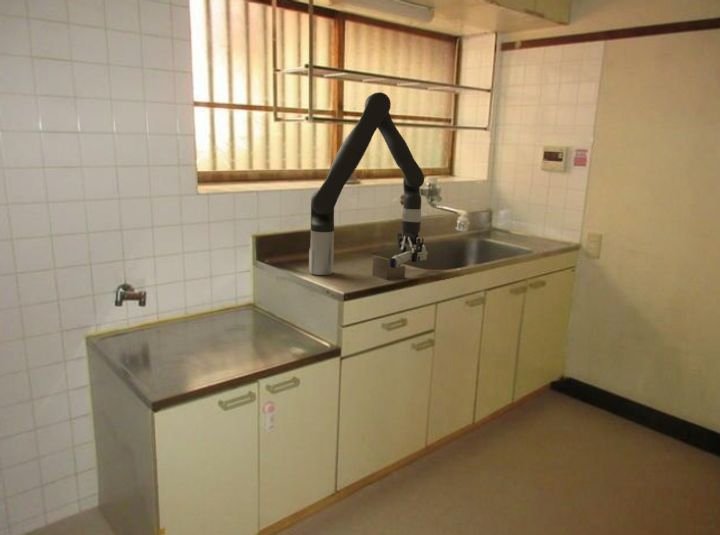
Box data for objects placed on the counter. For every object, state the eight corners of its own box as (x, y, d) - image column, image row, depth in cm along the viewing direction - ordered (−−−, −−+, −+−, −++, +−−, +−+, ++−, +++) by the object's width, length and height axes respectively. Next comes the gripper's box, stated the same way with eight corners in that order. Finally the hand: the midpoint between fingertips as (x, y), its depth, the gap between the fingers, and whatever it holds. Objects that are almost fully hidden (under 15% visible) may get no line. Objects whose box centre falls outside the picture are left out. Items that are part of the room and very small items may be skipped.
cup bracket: (386, 280, 208) (387, 259, 207) (372, 274, 216) (373, 255, 214) (404, 277, 214) (405, 258, 212) (390, 272, 221) (391, 253, 219)
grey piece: (386, 256, 210) (419, 241, 229) (387, 272, 212) (419, 255, 231) (397, 258, 207) (429, 242, 226) (398, 274, 209) (429, 257, 228)
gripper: (393, 217, 219) (391, 258, 223) (415, 222, 208) (413, 264, 211) (407, 217, 224) (404, 256, 227) (430, 221, 212) (427, 263, 216)
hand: (409, 260), depth 219 cm, fingers closed on grey piece, 6 cm apart
